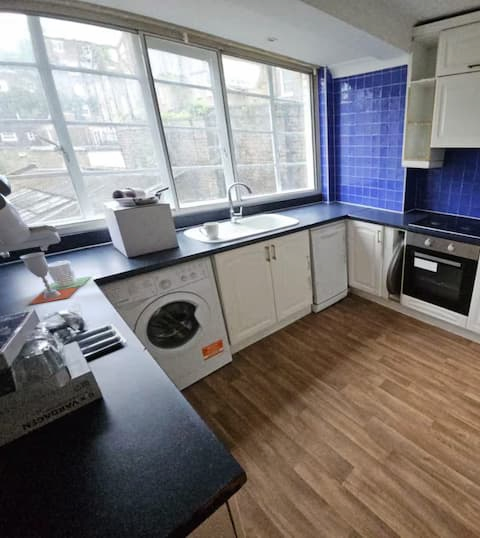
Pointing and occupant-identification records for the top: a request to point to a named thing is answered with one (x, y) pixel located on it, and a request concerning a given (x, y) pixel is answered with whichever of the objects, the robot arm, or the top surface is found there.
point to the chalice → (39, 270)
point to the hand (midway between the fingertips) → (26, 252)
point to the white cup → (62, 273)
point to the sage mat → (78, 284)
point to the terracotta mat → (64, 295)
